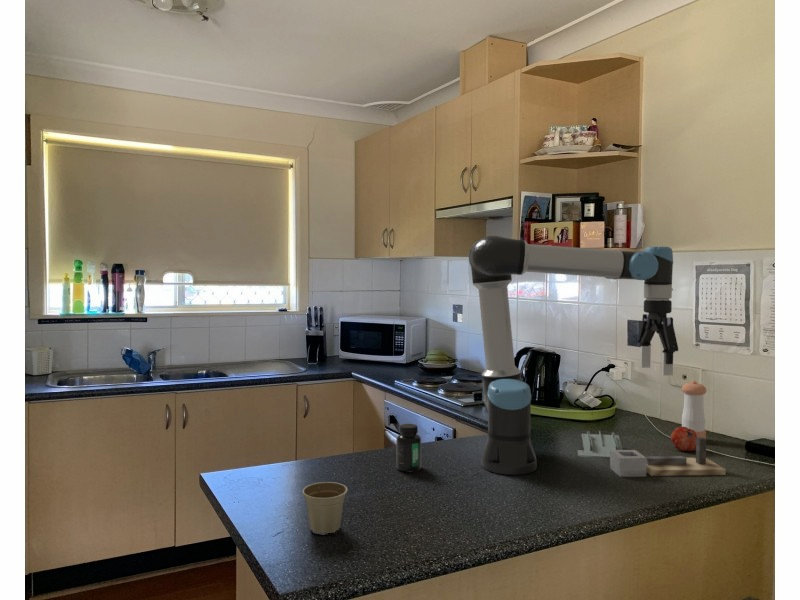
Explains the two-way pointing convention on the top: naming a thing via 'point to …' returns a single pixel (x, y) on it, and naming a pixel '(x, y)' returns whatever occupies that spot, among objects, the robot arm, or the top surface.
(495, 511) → the top surface
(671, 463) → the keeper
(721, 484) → the top surface
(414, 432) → the supplement bottle
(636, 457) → the grey square socket block
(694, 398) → the pepper shaker
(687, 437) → the pomegranate
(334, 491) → the flower pot
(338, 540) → the top surface
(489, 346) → the robot arm
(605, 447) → the metal bracket
